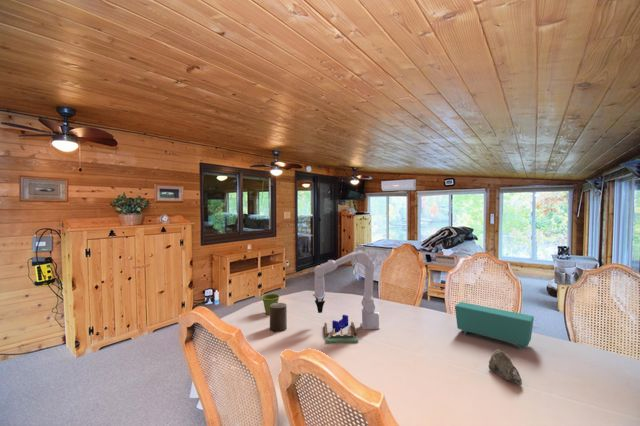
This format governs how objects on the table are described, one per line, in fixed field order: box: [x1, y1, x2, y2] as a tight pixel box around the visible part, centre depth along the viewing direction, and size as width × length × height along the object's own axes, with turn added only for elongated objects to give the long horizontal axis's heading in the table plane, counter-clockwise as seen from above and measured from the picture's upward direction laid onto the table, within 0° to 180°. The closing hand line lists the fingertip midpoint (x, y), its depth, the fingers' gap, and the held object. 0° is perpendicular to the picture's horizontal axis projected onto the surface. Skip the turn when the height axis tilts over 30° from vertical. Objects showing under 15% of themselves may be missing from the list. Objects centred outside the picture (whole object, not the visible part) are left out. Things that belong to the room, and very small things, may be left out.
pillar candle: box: [269, 302, 288, 333], centre depth 169 cm, size 10×10×15 cm
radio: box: [454, 301, 535, 350], centre depth 152 cm, size 34×10×15 cm, turn 47°
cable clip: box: [331, 314, 349, 334], centre depth 168 cm, size 12×4×6 cm, turn 143°
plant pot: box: [261, 293, 281, 316], centre depth 193 cm, size 12×12×11 cm
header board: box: [325, 328, 359, 344], centre depth 152 cm, size 16×6×5 cm, turn 91°
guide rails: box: [324, 321, 358, 338], centre depth 164 cm, size 17×15×2 cm
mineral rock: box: [488, 349, 523, 386], centre depth 118 cm, size 13×11×10 cm
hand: (319, 310), depth 169 cm, fingers open, 7 cm apart
